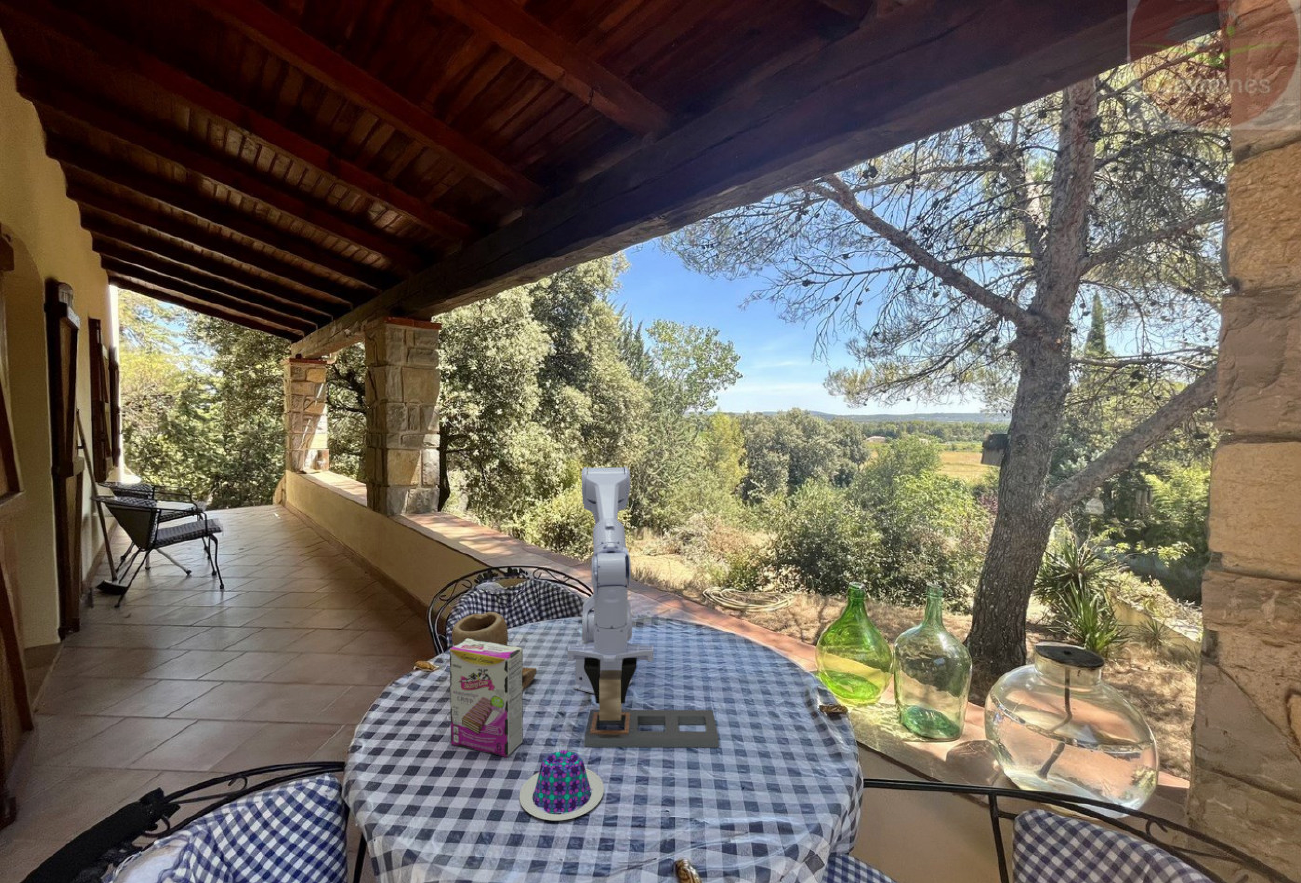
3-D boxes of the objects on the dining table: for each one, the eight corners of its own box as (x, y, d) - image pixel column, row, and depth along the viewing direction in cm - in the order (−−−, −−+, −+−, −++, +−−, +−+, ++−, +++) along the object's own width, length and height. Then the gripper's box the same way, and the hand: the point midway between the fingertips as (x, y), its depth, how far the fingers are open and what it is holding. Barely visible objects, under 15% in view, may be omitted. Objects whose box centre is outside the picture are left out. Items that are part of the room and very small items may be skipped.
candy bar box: (448, 746, 95) (447, 648, 94) (467, 730, 99) (466, 637, 99) (507, 759, 91) (506, 658, 90) (524, 742, 96) (523, 646, 95)
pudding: (605, 769, 89) (605, 736, 89) (602, 824, 77) (602, 786, 77) (527, 771, 89) (526, 738, 88) (512, 827, 77) (511, 789, 77)
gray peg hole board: (584, 746, 95) (584, 736, 95) (590, 717, 104) (590, 708, 104) (718, 747, 95) (718, 737, 95) (712, 718, 104) (712, 709, 104)
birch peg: (599, 720, 97) (599, 679, 97) (601, 709, 101) (601, 670, 100) (620, 720, 97) (620, 679, 97) (621, 709, 101) (621, 670, 100)
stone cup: (439, 701, 109) (438, 623, 109) (469, 673, 121) (468, 603, 120) (515, 708, 107) (514, 629, 106) (538, 679, 119) (537, 607, 118)
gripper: (564, 631, 94) (564, 712, 95) (653, 631, 94) (653, 712, 95) (570, 616, 101) (570, 691, 102) (653, 616, 101) (653, 692, 102)
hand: (610, 700), depth 99 cm, fingers closed on birch peg, 4 cm apart
